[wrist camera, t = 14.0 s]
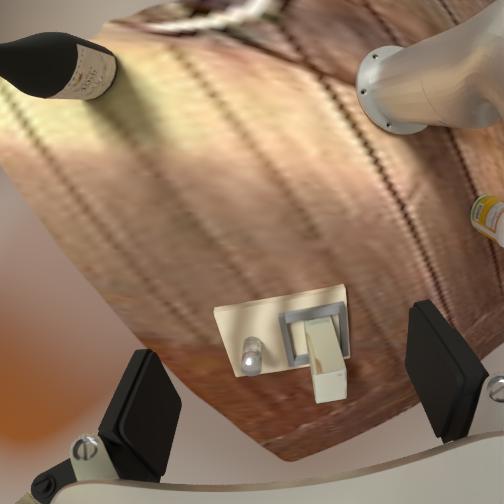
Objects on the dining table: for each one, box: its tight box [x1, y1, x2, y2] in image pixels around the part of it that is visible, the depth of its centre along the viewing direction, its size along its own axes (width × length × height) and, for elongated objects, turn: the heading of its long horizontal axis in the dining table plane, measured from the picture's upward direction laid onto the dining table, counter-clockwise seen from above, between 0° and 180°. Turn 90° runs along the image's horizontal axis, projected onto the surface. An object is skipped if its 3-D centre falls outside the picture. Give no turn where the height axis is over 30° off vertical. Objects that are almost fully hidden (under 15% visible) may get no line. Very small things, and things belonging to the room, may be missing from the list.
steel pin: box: [241, 337, 262, 376], centre depth 47 cm, size 3×3×6 cm
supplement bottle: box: [471, 195, 504, 248], centre depth 36 cm, size 6×6×11 cm
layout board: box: [214, 284, 350, 377], centre depth 49 cm, size 20×14×3 cm
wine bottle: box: [0, 32, 117, 100], centre depth 22 cm, size 8×8×30 cm
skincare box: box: [303, 315, 347, 403], centre depth 43 cm, size 6×4×12 cm
